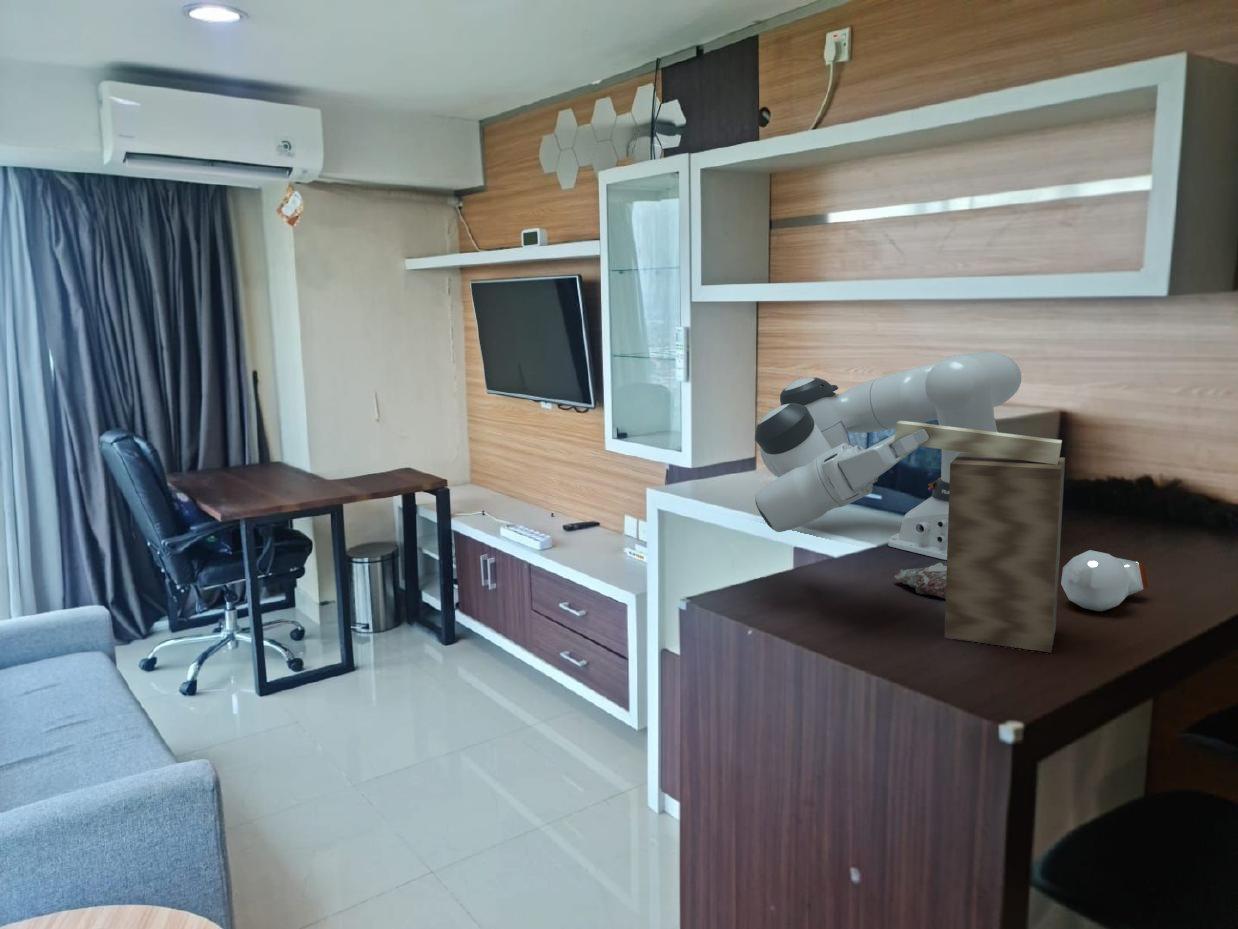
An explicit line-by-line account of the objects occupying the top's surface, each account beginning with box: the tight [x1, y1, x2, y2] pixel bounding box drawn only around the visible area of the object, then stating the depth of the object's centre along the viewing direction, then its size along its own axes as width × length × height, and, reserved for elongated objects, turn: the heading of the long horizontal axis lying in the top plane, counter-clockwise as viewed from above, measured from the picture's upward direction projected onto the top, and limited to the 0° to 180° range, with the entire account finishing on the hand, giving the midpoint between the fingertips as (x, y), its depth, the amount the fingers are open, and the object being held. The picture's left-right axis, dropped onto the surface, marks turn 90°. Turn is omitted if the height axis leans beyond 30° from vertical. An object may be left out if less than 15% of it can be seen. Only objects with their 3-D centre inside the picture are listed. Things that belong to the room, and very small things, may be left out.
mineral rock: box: [894, 562, 947, 600], centre depth 146 cm, size 15×8×4 cm, turn 25°
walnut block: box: [944, 453, 1066, 654], centre depth 125 cm, size 14×10×26 cm
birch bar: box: [894, 421, 1063, 465], centre depth 124 cm, size 22×3×3 cm, turn 60°
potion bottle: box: [1060, 549, 1149, 613], centre depth 137 cm, size 9×10×15 cm
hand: (930, 431), depth 127 cm, fingers closed on birch bar, 3 cm apart
